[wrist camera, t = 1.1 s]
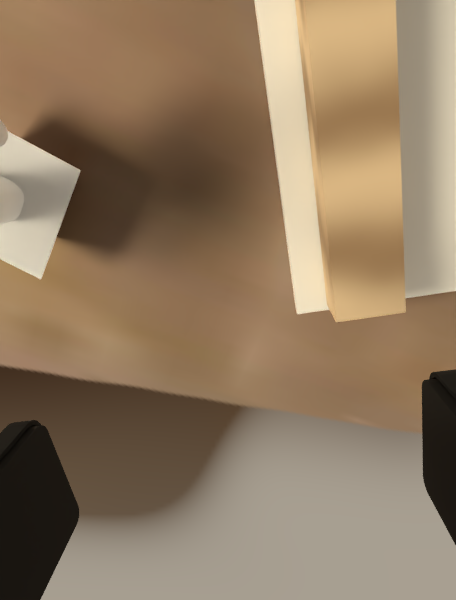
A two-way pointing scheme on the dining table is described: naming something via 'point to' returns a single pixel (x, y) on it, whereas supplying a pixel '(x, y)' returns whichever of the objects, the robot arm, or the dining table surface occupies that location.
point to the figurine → (31, 201)
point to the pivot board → (413, 141)
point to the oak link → (355, 151)
